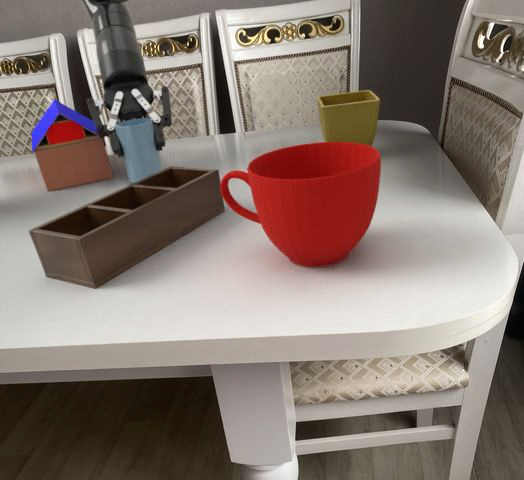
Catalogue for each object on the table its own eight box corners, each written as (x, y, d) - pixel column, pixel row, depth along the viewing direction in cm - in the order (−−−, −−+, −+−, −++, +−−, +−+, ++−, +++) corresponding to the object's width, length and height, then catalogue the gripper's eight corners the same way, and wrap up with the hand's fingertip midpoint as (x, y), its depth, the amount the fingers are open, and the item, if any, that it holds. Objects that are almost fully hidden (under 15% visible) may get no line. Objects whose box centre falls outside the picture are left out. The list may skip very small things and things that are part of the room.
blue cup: (122, 182, 90) (107, 126, 85) (145, 171, 94) (133, 117, 89) (147, 184, 87) (133, 126, 82) (171, 173, 91) (159, 117, 86)
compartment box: (46, 276, 60) (28, 230, 57) (178, 205, 76) (170, 166, 73) (95, 288, 56) (79, 239, 53) (225, 210, 72) (218, 169, 69)
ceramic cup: (252, 227, 65) (241, 144, 60) (390, 232, 59) (392, 139, 54) (206, 274, 56) (188, 180, 50) (365, 285, 50) (364, 179, 44)
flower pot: (380, 160, 83) (380, 98, 78) (324, 167, 83) (321, 105, 78) (370, 147, 90) (370, 89, 85) (319, 153, 91) (316, 96, 86)
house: (46, 192, 90) (20, 119, 84) (43, 167, 106) (22, 104, 99) (115, 177, 93) (96, 106, 86) (102, 155, 109) (85, 93, 102)
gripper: (72, 54, 85) (90, 145, 82) (160, 41, 87) (181, 130, 84) (84, 86, 92) (101, 171, 89) (165, 73, 94) (185, 156, 91)
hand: (140, 150), depth 86 cm, fingers closed on blue cup, 6 cm apart
